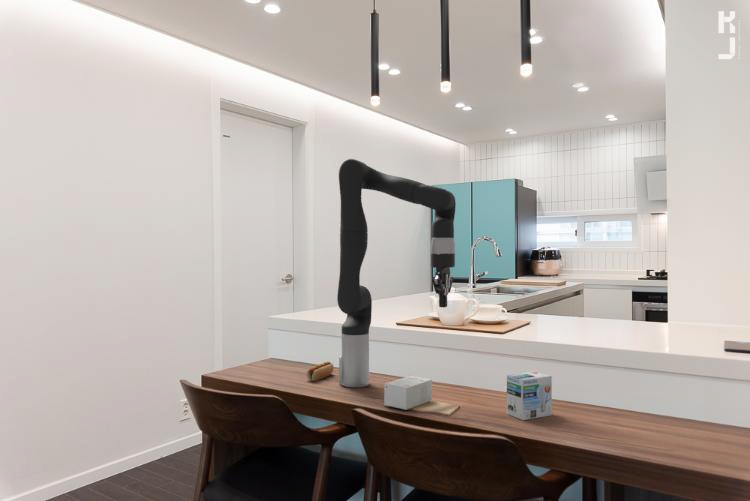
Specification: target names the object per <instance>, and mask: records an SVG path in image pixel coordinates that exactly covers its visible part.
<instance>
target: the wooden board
mask: <svg viewBox="0 0 750 501" xmlns="http://www.w3.org/2000/svg"><path fill="white" fill-rule="evenodd" d="M383 407H388V408H389V407H390V408H392V407H391V406H387V405H384V404H383ZM393 408H395V407H393ZM460 408H461V405H460V404H453V403H445V402H437V401H433V400H431V401H428V402H426V403H423V404H421V405H418V406H415V407H413V408H410V409H408V411H409V410H410V411H415V412H422V413H429V414H436V415H442V416H452V414H453V413H455V412H456V411H457V410H459V409H460ZM395 409H396V408H395Z"/></svg>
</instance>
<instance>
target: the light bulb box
mask: <svg viewBox="0 0 750 501" xmlns="http://www.w3.org/2000/svg"><path fill="white" fill-rule="evenodd" d="M552 379H553V376H552V375H548V374H545V373H542V372H538V371H528V372H522V373H521V372H520V373H514V374H507V375H506V414H507V415H508V416H511V417H513V418H514V417H515V418H516V419H519V420H521V421H526V420H531V419H537V418H545V417H550V416H552V412H553V411H552V404H553V403H552V400H553V399H552V398H553V397H552V396H553V395H552V394H553V393H552V392H553V390H552V387H553V384H552V381H553V380H552Z"/></svg>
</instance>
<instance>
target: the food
mask: <svg viewBox="0 0 750 501" xmlns="http://www.w3.org/2000/svg"><path fill="white" fill-rule="evenodd" d="M333 372H334V364H333V363H331V362H330V361H326V362H325V361H323V363H319V364H317V365H314V366H313V367H311V368H309V369H307V370H306V377H307V379H308V380H309V381H310V382H317V381H320V380H321V379H325V378H326V377H329V376H330V375H332V373H333Z"/></svg>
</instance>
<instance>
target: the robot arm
mask: <svg viewBox="0 0 750 501" xmlns="http://www.w3.org/2000/svg"><path fill="white" fill-rule="evenodd" d="M338 185H339V194H340V196H339V197H340V223H339V224H340V228H339V230H340V231H339V232H340V233H339V246H340V247H339V250H340V251H339V252H340V254H339V255H340V256H339V277H338V278H339V279H338V286H337V287H338V288H337V295H336V296H337V298H336V300H337V305H338V308H339V309H340V311H341V313H343V314H345V315H346V319H345V321H344V322H343V324H342V325H341V355H340V356H338V361H339V362H338V365H339V368H338V369H339V370H338V372H339V375H338V376H339V380H338V381H339V382H338V384H339V385H340V386H343V387H346V388H364V387H368V386H369V385H370V326H371V324H372V310H373V309H372V308H373V307H372V306H373V305H372V304H373V300H372V295H371V292H370V290H369V289H368V288H367V286H364V285H361V284H360V281H361V280H360V277H361V276H360V275H361V268H362V265H363V263H364V259H365V256H366V255H367V254H366V253H367V250H368V238H369V237H368V236H369V235H368V233H369V232H368V223H367V219H366V214H365V211H364V208H363V202H362V189H363V190H370V191H375V192H381V193H383V194H387V195H389V196H391V197H394V198H395V199H399V200H402V201H406V202H408V203H411V204H415V205H420V206H423V207H426V208H429V209H431V210H434V219H433V221H432V223H431V242H430V266H431V268H435V274H434V278H432V279H431V281H432V285H433V288H434V291H435V294H436V295H438V306H439V308H447V307H448V295H449V293H451V291H452V286H453V281H454V277H453V276H452V274H451V270H450V268H455V266H456V252H455V251H456V246H455V245H456V244H455V234H454V233H455V228H454V227H455V226H454V225H455V224H454V222H455V215H456V204H457V203H456V197H455V195H454V194H453V193H452V192H451V191H449V190H447V189H445V188H442V187H438V186H433V185H429V184H428V185H427V184H425V183H422V182H421V181H420V182H419V181H417V180H413V179H409V178H406V177H401V176H396V175H391V174H387V173H385V172H384V173H383V172H381V171H378V170H376V169H375V168H372V166H369V165H367V164H366V163H365V162H362V161H360V160H357V159H355V158H347V159H345V160H344V161H343V162H342V163H341V165H340V167H339V169H338Z"/></svg>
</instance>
